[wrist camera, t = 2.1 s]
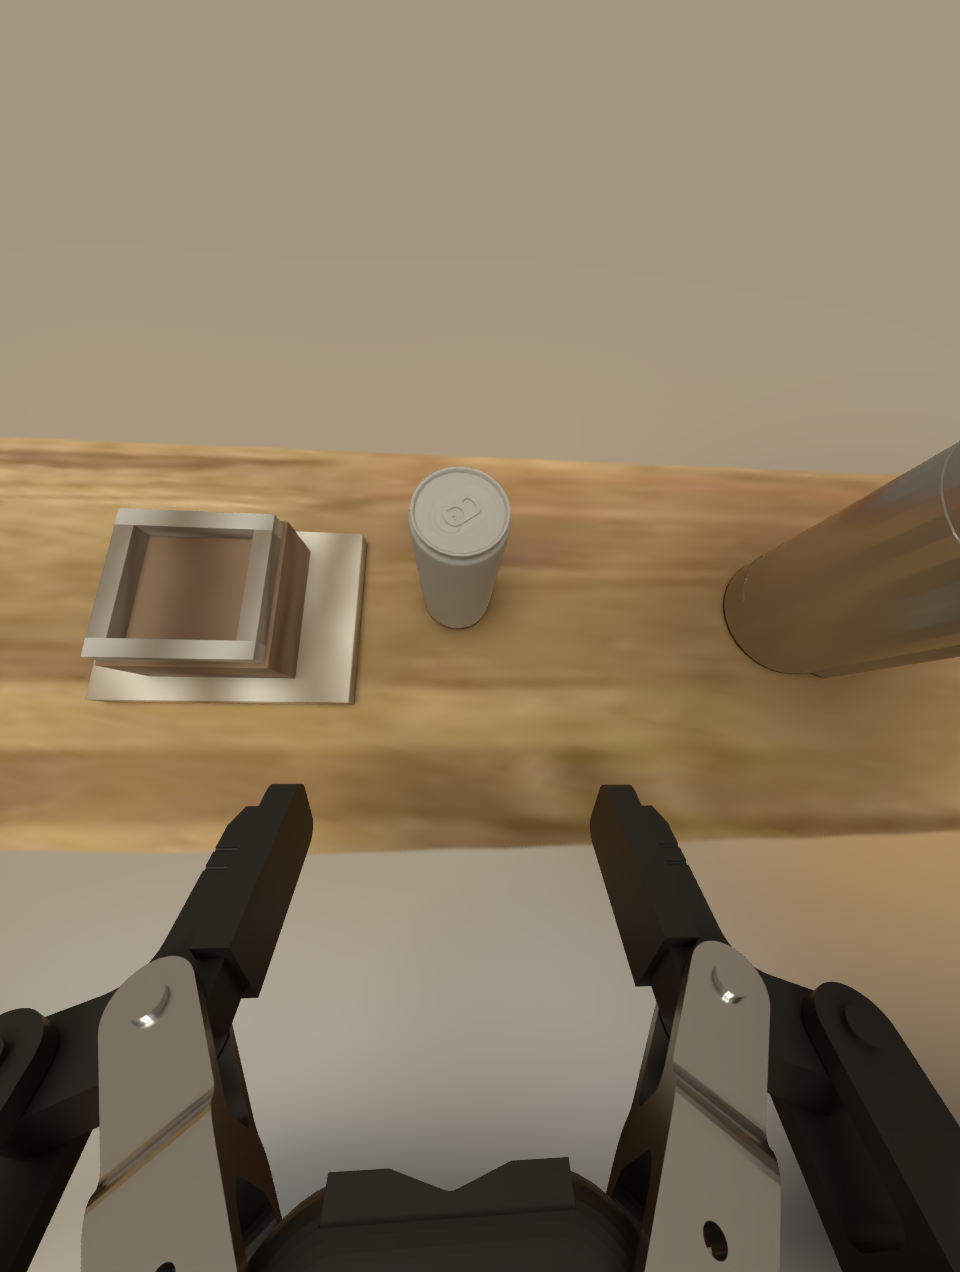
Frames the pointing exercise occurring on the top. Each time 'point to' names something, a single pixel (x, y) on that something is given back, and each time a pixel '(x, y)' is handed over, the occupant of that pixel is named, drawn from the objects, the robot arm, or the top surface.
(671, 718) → the top surface
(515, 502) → the top surface
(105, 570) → the pedestal base
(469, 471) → the beverage can
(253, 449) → the top surface
